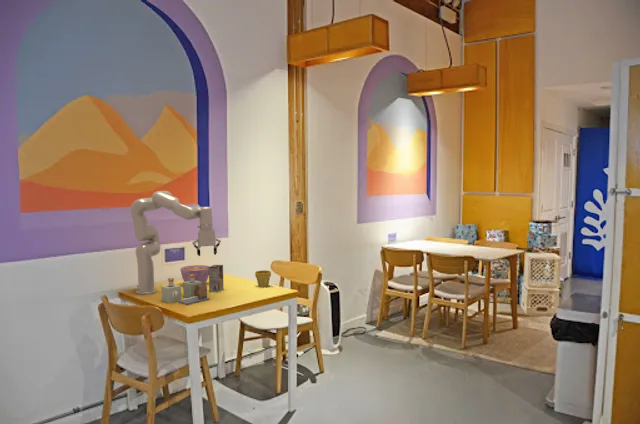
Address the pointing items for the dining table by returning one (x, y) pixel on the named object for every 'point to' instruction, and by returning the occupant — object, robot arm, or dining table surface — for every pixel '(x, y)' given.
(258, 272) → the plant pot
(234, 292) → the dining table surface
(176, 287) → the cabinet
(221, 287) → the coffee box
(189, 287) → the cabinet
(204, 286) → the brown upright block
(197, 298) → the rail board
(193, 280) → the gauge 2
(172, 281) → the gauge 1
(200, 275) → the bowl of food
